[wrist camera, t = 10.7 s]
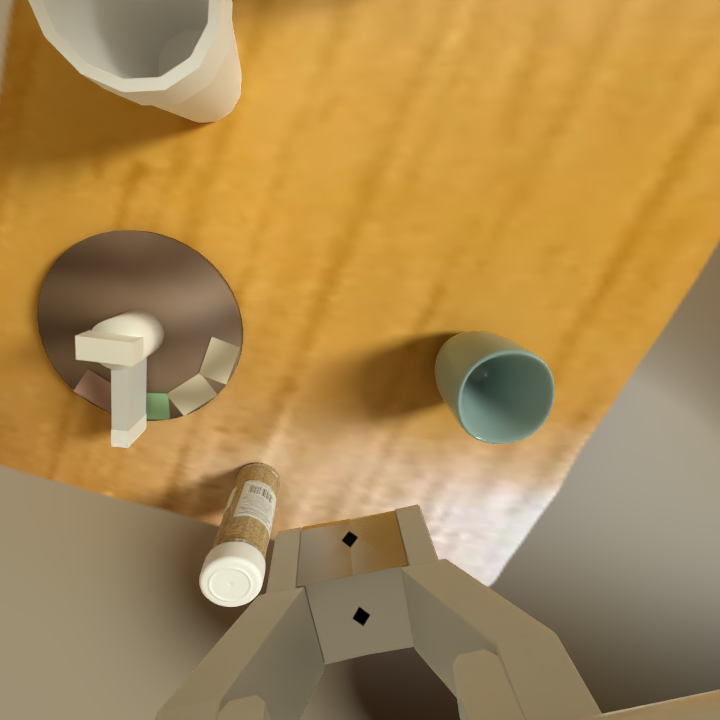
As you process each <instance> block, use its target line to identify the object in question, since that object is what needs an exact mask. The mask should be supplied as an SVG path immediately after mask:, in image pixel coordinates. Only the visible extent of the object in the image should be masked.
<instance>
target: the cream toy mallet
mask: <svg viewBox="0 0 720 720" xmlns="http://www.w3.org/2000/svg"><path fill="white" fill-rule="evenodd" d="M163 340H164V331H163V327H162V325H161V323H160V322H159V320H158V319H157V318H156V317H155V316H153V315H152V314H150V313H148V312H146V311H143V310H131V311H128V312H126V313H123V314H120V315H118V316H115V317H113V318H110V319H107V320H105V321H102V322H100V323H98V324H97V325H96V326H94V327H93V329H92V330H91V331H90V330H88V331H86V332H83V333H81V334H78V335H76V336H75V348H76V360H84V361H93V362H99V363H100V364H102V365H103V366H105V367H107V368H110V369H111V408H112V430H111V446H114V447H124V448H129V447H130V445H131V444H132V443H133V442H134V441H135V440H136V439H137V438H138V437H139V436H140V435H141V434H142V433H143V432H144V431H145V429H146V418H147V414H146V374H147V357H148V356H149V355H151V354H152V353H153V352H155V351H156V350H158V349H159V348H160V346H161V345H162V343H163Z"/></svg>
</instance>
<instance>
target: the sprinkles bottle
mask: <svg viewBox="0 0 720 720" xmlns="http://www.w3.org/2000/svg"><path fill="white" fill-rule="evenodd" d="M279 487H280V479H279V476H278V474H277V472H276V471H275V470H274V469H273V468H271V467H270V466H268V465H265V464H262V463H253V464H249V465H246V466H245V467H243V468H242V469H241V470H240V471H239V473H238V474H237V476H236V479H235V485H234V488H233V491H232V492H231V494H230V497H229V500H228V502H227V505H226V508H225V511H224V514H223V519H222V522H221V524H220V528H219V530H218V533H217V536H216V538H215V542H214V545H213V547H212V550H211V551H210V552H209V554H208V555H207V557H206V559H205V562H204V565H203V568H202V570H201V574H200V579H199V583H200V588H201V590H202V592H203V594H204V595H205V596H206V597H207V598H208V599H209V600H210V601H212V602H214V603H215V604H218V605H221V606H226V607H234V606H240V605H244V604H246V603H248V602H250V601H251V600H253V599H254V598H255V597H256V596H257V595H258V593H259V592H260V590H261V587H262V583H263V578H264V573H265V556H266V550H267V545H268V542H269V539H270V533H271V528H272V522H273V517H274V511H275V506H276V497H277V492H278V490H279Z"/></svg>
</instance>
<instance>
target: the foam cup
mask: <svg viewBox="0 0 720 720" xmlns="http://www.w3.org/2000/svg"><path fill="white" fill-rule="evenodd" d="M28 1H29V3H30V5H31V8H32V10H33V12H34V14H35V17H36V19H37V21H38V23H39V26H40V28H41V30H42V32H43V35H44V37H45V38H46V39H47V40H48V41H49V42H50V43H51V44H52V45H53V46H54V47H55V48H56V49H57V50H58V51H59V52H60V53H61V54H62V55H63V56H64V57H65V58H66V59H67V60H68V61H69V62H70V63H71V64H72V65H73V66H74V67H75V68H76V69H77V70H78V72H79V73H80V74H82V75H83V76H85V77H86V78H88V79H90V80H91V81H93V82H94V83H96V84H97V85H99V86H100V87H102V88H103V89H105V90H108V91H110V92H112V93H114V94H117V95H119V96H121V97H124V98H126V99H128V100H131V101H133V102H135V103H138V104H140V105H142V106H144V105H152V106H155V107H158V108H160V109H163V110H165V111H168V112H171V113H173V114H176V115H179V116H181V117H184V118H187V119H189V120H192V121H194V122H198V123H205V122H217V121H219V120H220V119H222V118H223V117H225V116H226V115H228V114H230V113H231V112H232V110H233V108H234V107H235V105H236V103H237V101H238V99H239V98H240V93H241V79H242V75H241V68H240V62H239V57H238V51H237V45H236V40H235V34H234V28H233V23H232V8H233V3H232V0H28Z"/></svg>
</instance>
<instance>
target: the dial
mask: <svg viewBox="0 0 720 720" xmlns="http://www.w3.org/2000/svg"><path fill="white" fill-rule="evenodd" d="M131 310H143V311H146V312H148V313H150V314H152V315H153V316H155V317H156V318H157V319H158V320H159V322H160V323H161V325H162V327H163V331H164V340H163V343H162V345H161V346H160V348H159V349H158V350H156V351H155V352H153V353H152V354H151V355H149V356H148V357H147V374H146V414H147V418H146V421H158V420H170V419H173V418H178V417H181V416H185V415H187V414H190V413H192V412H194V411H196V410H198V409H200V408H201V407H203V406H204V405H206V404H207V403H209V402H210V401H211V400H212V399H213V398H215V397H216V396H217V395H218V394H219V393H220V391H221V390H222V389H223V388H224V387H225V385H226V384H227V382H228V381H229V379H230V378H231V376H232V375H233V373H234V371H235V369H236V366H237V364H238V362H239V358H240V355H241V351H242V344H243V326H242V318H241V314H240V310H239V306H238V304H237V301H236V299H235V296H234V294H233V292H232V290H231V288H230V287H229V285H228V283H227V282H226V280H225V279H224V278H223V276H222V275H221V273H220V272H219V271H218V270H217V269H216V268H215V267H214V266H213V265H212V264H211V263H210V262H209V261H208V260H207V259H206V258H205V257H203V256H202V255H201V254H200V253H198V252H197V251H195V250H194V249H192V248H191V247H189V246H188V245H186V244H184V243H182V242H180V241H178V240H176V239H173V238H170V237H167V236H164V235H161V234H156V233H152V232H145V231H130V230H127V231H112V232H107V233H101V234H98V235H95V236H92V237H89V238H87V239H85V240H83V241H81V242H79V243H77V244H75V245H74V246H73V247H71V248H70V249H69V250H67V251H66V252H65V253H64V254H63V255H62V256H61V257H60V258H59V259H58V260H57V261H56V262H55V264H54V265H53V266H52V268H51V269H50V270H49V272H48V274H47V276H46V278H45V280H44V282H43V285H42V288H41V291H40V295H39V301H38V326H39V333H40V336H41V340H42V344H43V346H44V349H45V351H46V353H47V356H48V358H49V359H50V361H51V363H52V365H53V366H54V368H55V369H56V371H57V372H58V373H59V375H60V376H61V377H62V379H63V380H64V381H65V382H66V383H67V384H68V385H69V386H70V387H71V388H72V389H73V390H74V392H76V393H77V394H79V395H80V396H81V397H83V398H84V399H86V400H87V401H89V402H90V403H92V404H93V405H95V406H97V407H99V408H101V409H103V410H105V411H107V412H109V413H111V414H112V408H111V369H110V368H107V367H105V366H103V365H102V364H100V363H99V362H93V361H84V360H76V348H75V336H76V335H78V334H81V333H83V332H86V331H88V330H90V331H91V330H92V329H93V327H94V326H96V325H97V324H98V323H100V322H102V321H105V320H107V319H110V318H113V317H115V316H118V315H120V314H123V313H126V312H128V311H131Z"/></svg>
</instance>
